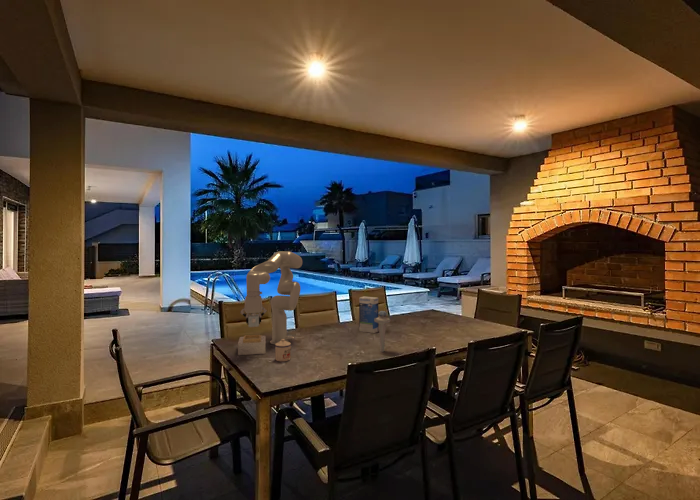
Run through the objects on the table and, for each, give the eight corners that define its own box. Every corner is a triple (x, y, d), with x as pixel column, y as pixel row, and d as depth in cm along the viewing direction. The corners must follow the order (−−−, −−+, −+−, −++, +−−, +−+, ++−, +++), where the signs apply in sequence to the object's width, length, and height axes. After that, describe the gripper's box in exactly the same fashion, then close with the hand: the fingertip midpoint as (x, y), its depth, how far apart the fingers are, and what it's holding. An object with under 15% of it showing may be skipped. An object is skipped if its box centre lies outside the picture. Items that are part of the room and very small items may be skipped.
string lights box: (378, 331, 288) (379, 297, 288) (374, 333, 282) (374, 298, 281) (363, 329, 295) (363, 296, 295) (358, 331, 289) (358, 297, 288)
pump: (259, 323, 231) (258, 311, 230) (259, 327, 223) (258, 314, 222) (248, 324, 230) (248, 312, 229) (248, 328, 221) (248, 315, 221)
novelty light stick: (371, 349, 240) (371, 310, 239) (385, 348, 243) (386, 309, 242) (378, 354, 230) (378, 313, 230) (392, 352, 234) (393, 312, 233)
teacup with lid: (284, 362, 214) (284, 342, 214) (271, 360, 218) (271, 340, 218) (296, 357, 225) (296, 337, 224) (284, 354, 229) (284, 335, 229)
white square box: (265, 346, 247) (265, 333, 246) (265, 353, 231) (265, 339, 231) (240, 347, 243) (239, 334, 243) (237, 355, 228) (237, 341, 227)
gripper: (267, 292, 232) (268, 321, 233) (238, 293, 228) (239, 323, 229) (268, 294, 225) (268, 324, 226) (237, 295, 221) (238, 326, 222)
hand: (253, 323), depth 227 cm, fingers closed on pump, 6 cm apart
